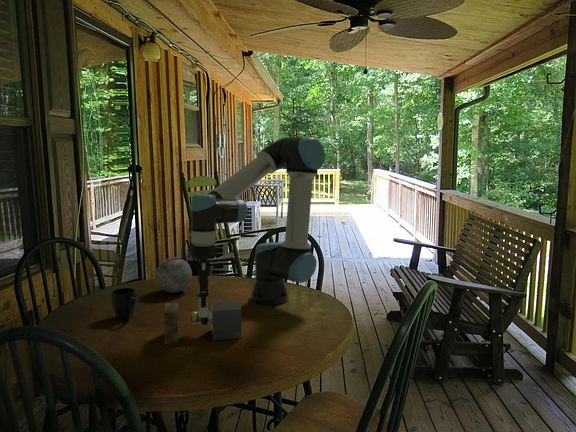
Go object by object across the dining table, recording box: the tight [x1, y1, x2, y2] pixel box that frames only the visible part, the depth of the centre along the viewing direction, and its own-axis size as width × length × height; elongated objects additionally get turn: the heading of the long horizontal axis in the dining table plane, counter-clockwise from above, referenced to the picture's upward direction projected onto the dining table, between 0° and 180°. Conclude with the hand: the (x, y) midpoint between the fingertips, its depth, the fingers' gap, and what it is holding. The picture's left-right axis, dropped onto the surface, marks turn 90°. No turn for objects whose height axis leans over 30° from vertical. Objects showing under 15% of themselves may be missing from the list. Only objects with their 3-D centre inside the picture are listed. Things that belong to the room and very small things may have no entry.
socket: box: [163, 302, 180, 344], centre depth 140 cm, size 4×9×10 cm, turn 12°
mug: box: [110, 287, 137, 321], centre depth 156 cm, size 8×12×10 cm
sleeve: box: [210, 299, 242, 341], centre depth 144 cm, size 9×9×10 cm
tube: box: [190, 309, 212, 326], centre depth 143 cm, size 14×5×5 cm, turn 102°
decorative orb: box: [154, 256, 193, 294], centre depth 187 cm, size 15×14×15 cm
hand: (202, 309), depth 141 cm, fingers open, 13 cm apart
